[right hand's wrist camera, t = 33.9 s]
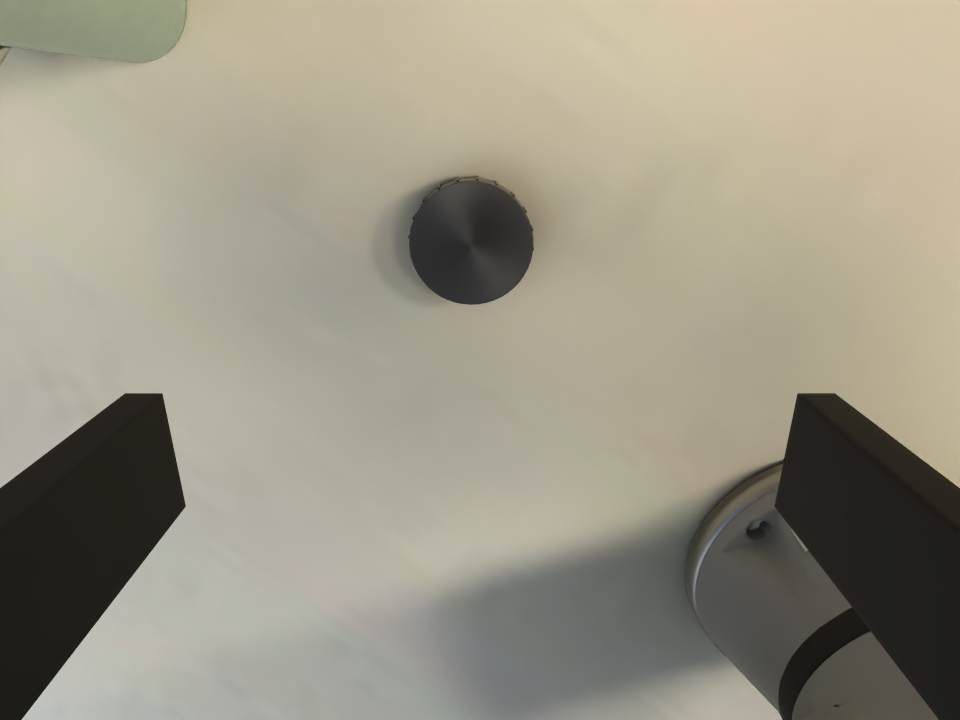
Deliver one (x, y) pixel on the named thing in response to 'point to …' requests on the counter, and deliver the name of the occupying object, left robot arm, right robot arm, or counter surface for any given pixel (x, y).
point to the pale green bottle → (94, 27)
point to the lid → (471, 241)
